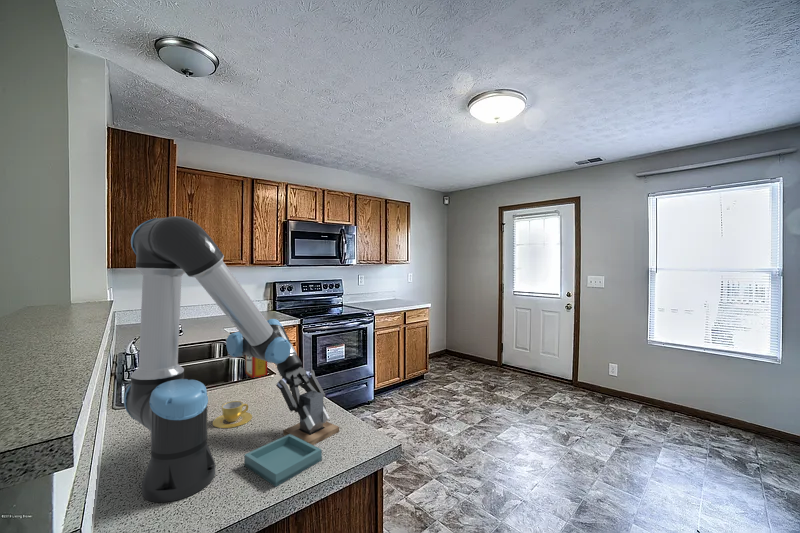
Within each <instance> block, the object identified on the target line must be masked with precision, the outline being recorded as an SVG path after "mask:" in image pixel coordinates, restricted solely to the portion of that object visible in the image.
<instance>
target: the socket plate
mask: <svg viewBox="0 0 800 533" xmlns="http://www.w3.org/2000/svg"><path fill="white" fill-rule="evenodd" d="M282 433H283V436H286V435H288V434H291V435H293V436H295V437H297V438H299V439H301V440H303V441H305V442H307V443H309V444H312V445H314V446H315V445H317V444H318V443H321V442H323V441H324V440H326V439H328V438H330V437H332V436H333V435H335V434H337V433H340V426H338V425H336V424H333V423H331V422H329V421H327V422H326V423H323V429H322V430H320V431H318V432H316V433H314V434H312V435H309V434H306V433H304V432H302V431H300V422H298V423H296V424H293V425H291V426H290V427H287V428H285V429H283V432H282Z"/></svg>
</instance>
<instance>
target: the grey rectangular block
mask: <svg viewBox="0 0 800 533" xmlns="http://www.w3.org/2000/svg"><path fill="white" fill-rule="evenodd" d="M300 397H301V401H302V405H303V406H306V408H307V410H308V412H309V414H310V416H311V418H312V420H313V422H314V424H315V426H314V427H313V428H312V429H311V430H309V429H308V427H307V425H306V423H305V421H304V420H302V419H301V418H300V417H299V423H300V431H302V432H304V433H306V434H309V435H312V434H314V433H316V432H318V431H320V430H322V429H323V403H324V397H323V394H322V393H319V392H316V391H310V392H305V393H302V394H301V393H300ZM303 406H302V407H303Z"/></svg>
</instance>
